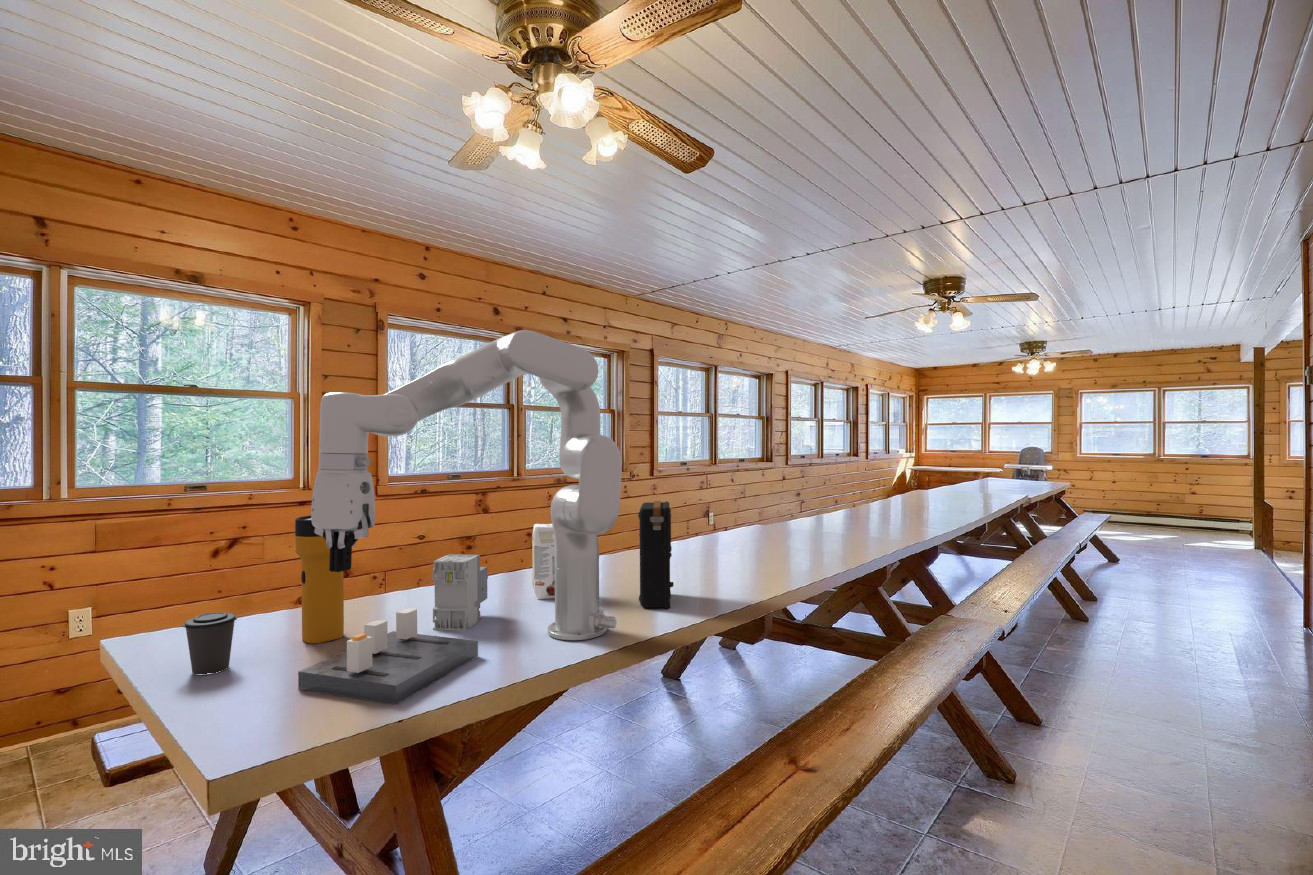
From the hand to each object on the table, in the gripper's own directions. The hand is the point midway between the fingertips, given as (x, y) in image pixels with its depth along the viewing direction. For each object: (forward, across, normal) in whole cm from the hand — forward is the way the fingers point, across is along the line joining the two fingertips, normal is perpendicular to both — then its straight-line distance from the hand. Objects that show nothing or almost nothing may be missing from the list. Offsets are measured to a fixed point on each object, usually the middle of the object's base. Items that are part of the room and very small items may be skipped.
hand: (340, 570), depth 104 cm
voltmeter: (+17, -37, -65) cm, 77 cm away
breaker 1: (+16, -2, -7) cm, 17 cm away
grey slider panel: (+19, -6, -7) cm, 21 cm away
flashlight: (+20, +22, -18) cm, 34 cm away
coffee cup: (+20, +27, +2) cm, 34 cm away
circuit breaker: (+19, +1, -37) cm, 41 cm away
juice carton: (+18, -8, -62) cm, 65 cm away
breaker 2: (+15, -2, -15) cm, 22 cm away
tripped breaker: (+16, -6, +1) cm, 17 cm away
